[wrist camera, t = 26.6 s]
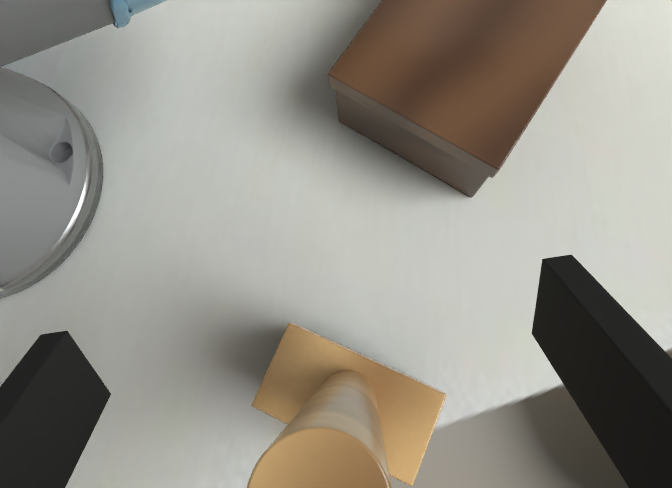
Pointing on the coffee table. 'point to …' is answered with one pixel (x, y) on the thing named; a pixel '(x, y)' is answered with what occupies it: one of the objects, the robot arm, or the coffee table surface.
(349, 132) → the coffee table surface
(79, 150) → the robot arm
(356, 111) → the walnut box
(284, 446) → the brush
